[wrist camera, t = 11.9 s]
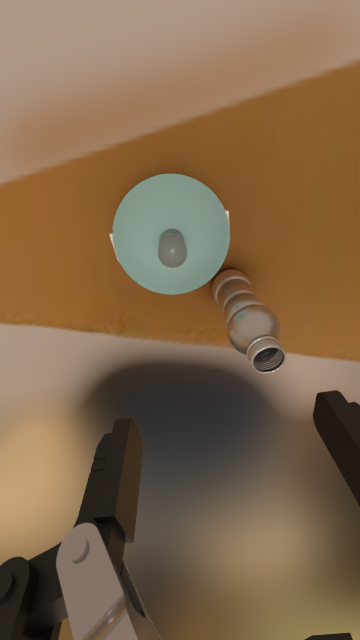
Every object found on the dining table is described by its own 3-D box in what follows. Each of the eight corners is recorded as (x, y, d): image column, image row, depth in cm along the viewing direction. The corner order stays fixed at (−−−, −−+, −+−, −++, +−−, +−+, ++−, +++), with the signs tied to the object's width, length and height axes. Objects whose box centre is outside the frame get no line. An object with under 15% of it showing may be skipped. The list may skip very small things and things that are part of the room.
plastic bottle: (210, 303, 44) (237, 387, 27) (208, 267, 41) (237, 338, 24) (246, 298, 44) (296, 380, 27) (247, 262, 40) (304, 329, 23)
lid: (224, 162, 26) (238, 160, 21) (231, 282, 33) (242, 302, 28) (97, 186, 27) (81, 190, 22) (131, 298, 34) (124, 321, 29)
